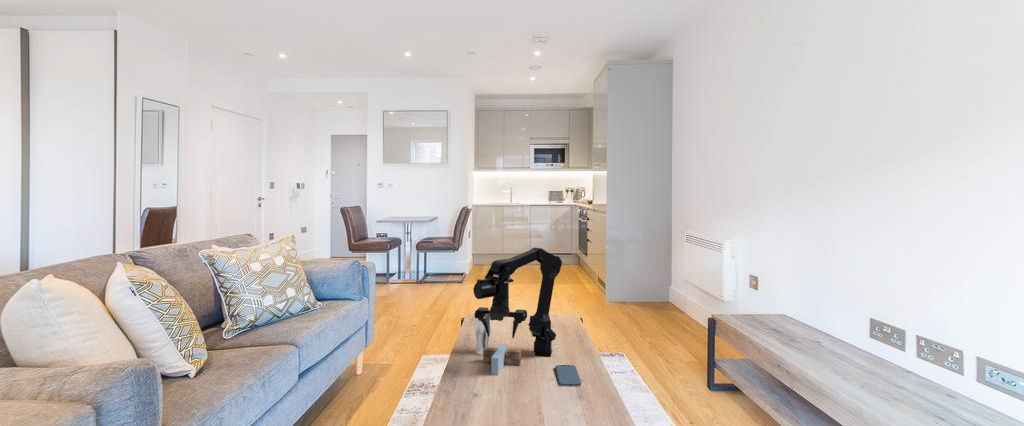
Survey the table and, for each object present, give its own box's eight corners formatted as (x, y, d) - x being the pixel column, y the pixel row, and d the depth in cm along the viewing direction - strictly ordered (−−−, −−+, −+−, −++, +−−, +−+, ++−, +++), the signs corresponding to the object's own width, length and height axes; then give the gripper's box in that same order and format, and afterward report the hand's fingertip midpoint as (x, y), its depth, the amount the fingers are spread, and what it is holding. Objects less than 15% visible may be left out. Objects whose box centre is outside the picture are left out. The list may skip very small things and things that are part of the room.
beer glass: (489, 356, 167) (489, 318, 166) (472, 354, 168) (472, 317, 168) (493, 349, 174) (493, 313, 173) (477, 348, 175) (477, 312, 175)
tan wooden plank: (520, 363, 160) (520, 350, 160) (519, 365, 158) (519, 352, 157) (484, 360, 163) (484, 347, 163) (483, 362, 160) (483, 349, 160)
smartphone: (559, 384, 141) (554, 364, 156) (558, 389, 141) (554, 369, 156) (581, 384, 140) (575, 364, 155) (581, 389, 141) (575, 369, 156)
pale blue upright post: (507, 360, 163) (507, 344, 163) (498, 375, 149) (498, 358, 149) (500, 359, 163) (500, 344, 163) (491, 374, 150) (491, 357, 149)
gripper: (469, 298, 150) (469, 342, 150) (521, 301, 146) (521, 346, 147) (478, 292, 161) (478, 332, 161) (527, 294, 157) (527, 336, 157)
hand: (500, 337), depth 156 cm, fingers open, 9 cm apart
